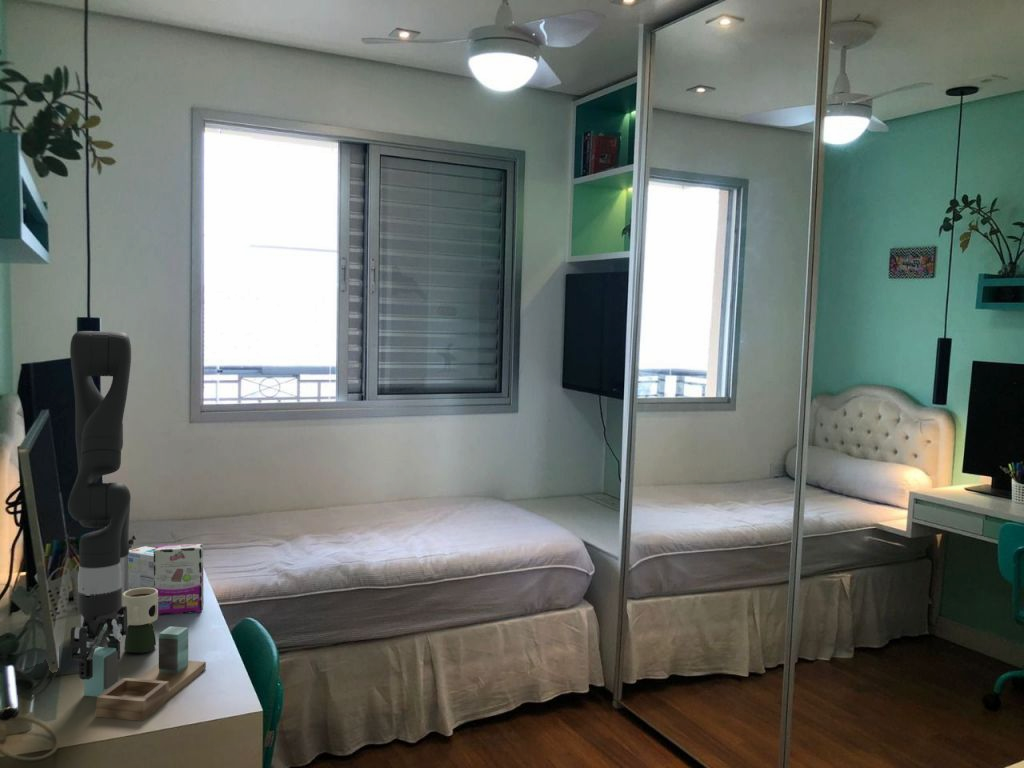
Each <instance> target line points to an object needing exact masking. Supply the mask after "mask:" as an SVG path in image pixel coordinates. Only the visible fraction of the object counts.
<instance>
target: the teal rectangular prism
mask: <svg viewBox="0 0 1024 768" xmlns="http://www.w3.org/2000/svg"><path fill="white" fill-rule="evenodd" d="M86 653H88V651H86ZM92 659H93V677H92V678H90V679H83V696H85V697H96V698H97V697H98V696H99V695H101V694H102V693H103V692H105V691H106V690H108V689H109V688H111V687H112V686H113V685H115V684H116V683H118V682H119V660H118V651H116V648H107V647H105V646H99V647H98V648H96V649H95V651H94V654H93V656H92Z"/></svg>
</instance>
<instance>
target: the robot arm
mask: <svg viewBox="0 0 1024 768" xmlns="http://www.w3.org/2000/svg"><path fill="white" fill-rule="evenodd" d="M128 335H129V334H127V333H125V332H122V331H120V332H119V331H101V330H99V331H98V330H97V331H96V330H94V331H93V330H81V331H80V330H79V331H76V332H75V333H74V334H73V335H72V337H71V340H70V348H69V350H70V351H69V354H70V366H71V373H72V381H73V390H74V391H73V393H74V401H75V403H74V404H75V411H74V412H75V414H74V415H75V420H74V422H75V426H74V429H75V432H74V433H75V447H76V459H77V469H78V470H77V472H78V473H77V475H76V478H75V481H74V484H73V487H72V489H71V491H70V494H69V497H68V500H67V510H68V513H69V515H70V517H71V518H72V519H73V520H75V521H77V522H79V524H80V525H81V527H83V528H89V529H96V528H100V529H98V530H94V531H91V532H87V533H84V534H83V535H82V536H80V539H79V544H78V550H79V551H78V553H79V554H78V556H79V559H78V560H79V561H78V563H79V567H78V574H77V612H78V613H79V614H80V626H77V627H75V626H73V627H71V629H70V641H69V642H70V647H69V648H70V649H69V660H71V661H78V676H79V678H80V679H81V680H84V679H90V678H92V677H93V659H92V656H93V654H94V651H95V649H96V648H98V647H100V644H101V642H102V641H103V640H104V639H105V638H106V640H107V641H108V642H107V648H116V651H118V661H120V659H121V642H122V640H123V637H124V636H126V635H127V633H128V626H129V625H128V623H127V607H126V606H122V596H123V593H124V592H125V591H128V590H129V550H130V546H129V545H130V543H129V541H130V540H129V531H130V530H129V527H130V512H131V498H132V497H131V496H132V495H131V492H130V489H129V488H128V487H127V486H126V485H125V484H124V483H123V482H101V483H99V482H98V481H99V479H100V478H101V477H102V476H106V475H110V474H114V473H116V472H117V471H118V470H119V469H120V468H121V463H122V450H123V447H124V424H123V421H124V420H123V419H124V416H125V415H124V414H125V408H126V405H127V404H126V403H127V398H128V388H129V381H130V376H131V375H130V373H131V365H132V345H131V341H130V337H129V336H128ZM93 377H112V380H111V384H110V387H109V390H108V392H107V393H106V395H105V396H103V395H102V394H101V392H100V391H99V390H98V388H97V386H96V385H95V382H94V380H93ZM87 640H88V641H87ZM87 648H88V650H87ZM77 649H78V651H77ZM87 652H88V653H87Z"/></svg>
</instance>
